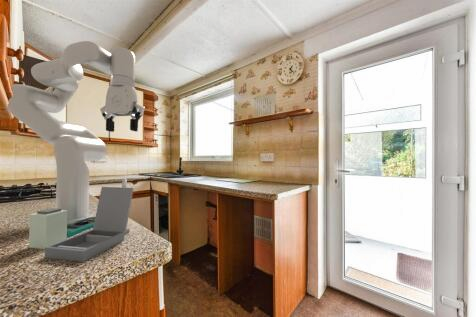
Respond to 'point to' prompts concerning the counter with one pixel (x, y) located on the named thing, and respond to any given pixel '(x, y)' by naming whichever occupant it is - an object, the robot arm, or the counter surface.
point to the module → (47, 228)
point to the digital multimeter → (80, 226)
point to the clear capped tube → (124, 185)
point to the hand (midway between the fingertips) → (121, 131)
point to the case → (84, 245)
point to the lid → (113, 209)
